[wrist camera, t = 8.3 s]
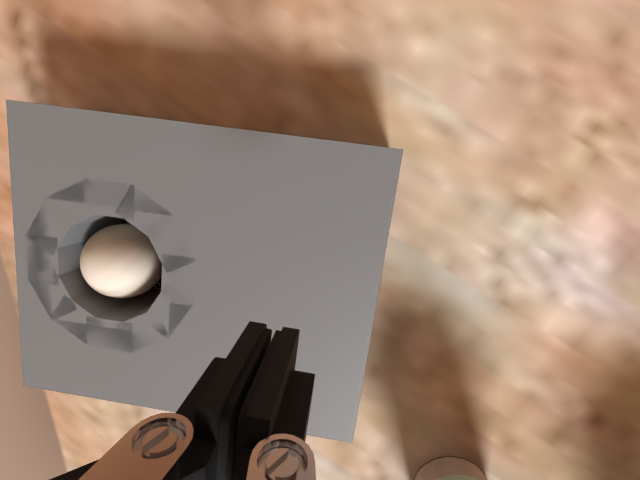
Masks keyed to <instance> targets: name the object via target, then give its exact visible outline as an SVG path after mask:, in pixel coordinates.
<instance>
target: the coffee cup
mask: <svg viewBox="0 0 640 480" xmlns="http://www.w3.org/2000/svg"><path fill="white" fill-rule="evenodd" d="M414 480H487V479H486V477H485V476H484V474H483V472H482V471H481V470H480V469H479V468H478V467H477V466H476V465H474V464H473V463H471V462H469V461H467V460H465V459H461V458H457V457H443V458H438V459H435V460H433V461H430V462H429V463H427V464H426V465H424V466H423V467H422V468H421V469H420V470H419V472H418V473H417V475H416V477H415V479H414Z"/></svg>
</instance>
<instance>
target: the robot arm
mask: <svg viewBox="0 0 640 480" xmlns="http://www.w3.org/2000/svg"><path fill="white" fill-rule="evenodd" d="M299 333H300V329H295V328H289V327H283V328H282V331H279V330H276V331H275V334H274V336H273V338H272V340H271V336H272V329H267V325H266V324H264V323H258V322H252V321H250V322H249V323H248V324H247V326H246V328H245V329H244V331H243V332H242V334H241V335H240V337H239V339H238V340H237V342H236V343H235V345H234V346H233V348H232V350H231V351H230V353H229V354H228V356H227V357H226V358H220V357H215V358H214V359H213V360H212V361H211V363H210V364H209V366H208V367H207V369H206V370H205V371H204V373H203V374H202V376H201V377H200V379H199V380H198V381H197V383H196V384H195V386H194V387H193V389H192V390H191V392H190V393H189V394H188V396H187V397H186V399H185V400H184V402H183V403H182V404H181V406H180V407H179V409H178V410H177V412H176V413H161V414H157V415H153V416H150V417H148V418H146V419H144V420H142V421H140V422H139V423H138V424H137V425H135V426H134V427H133V428H132V429H131V430H129V431H128V432H127V433H126V434H125V435H124V436H123V437H122V438H121V439H120V440H119V441H118V442H117V443H116V444H115V445H114V446H113V447H112V448H111V449H110V450H109V451H108V452H107V453H106V454H105V455H103V456H102V457H101V458H100V459H99V460H97V461H94V462H92V463H89V464H87V465H84V466H82V467H79V468H77V469H75V470H72V471H70V472H67V473H65V474H63V475H60V476H57V477H55V478H52V479H50V480H316V473H315V460H314V455H313V452H312V450H311V449H310V447H309V445H308V444H306V443H305V438H306V432H307V426H308V420H309V414H310V408H311V401H312V394H313V387H314V380H315V374H313V373H308V372H302V371H296V370H295V365H296V357H297V349H298V341H299Z"/></svg>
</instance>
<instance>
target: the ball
mask: <svg viewBox="0 0 640 480" xmlns="http://www.w3.org/2000/svg"><path fill="white" fill-rule="evenodd" d="M80 269H81V272H82V275H83V277H84V279H85V280H86V282H87V283H88V284H89V285H90V286H91V287H92V288H93V289H94V290H95V291H97V292H99V293H101V294H103V295H106V296H109V297H114V298H130V297H135V296H138V295H140V294H143V293H145V292H146V291H148V290H149V289H151V288H152V287H153V286H154V285H155V284H156V283H157V282H158V281H159V280H160V278H161V276H162V263H161V261H160V259H159V257H158V255H157V253H156V251H155V249H154V247H153V245H152V243H151V241H150V239H149V237H148V236H147V235H145V234H144V233H143V232H141V231H140V230H139V229H137V228H136V227H135V226H133V225H132V224H116V225H111V226H108V227H105V228H103V229H101V230H99V231H98V232H96V233H95V234H94V235H92V236H91V237H90V238H89V239H88V241H87V242H86V243H85V245H84V247H83V249H82V252H81V255H80Z"/></svg>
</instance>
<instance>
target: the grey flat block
mask: <svg viewBox="0 0 640 480" xmlns="http://www.w3.org/2000/svg"><path fill="white" fill-rule="evenodd" d="M6 108H7V124H8V141H9V157H10V174H11V191H12V207H13V224H14V240H15V257H16V274H17V290H18V307H19V323H20V340H21V356H22V373H23V386H27V387H33V388H39V389H44V390H50V391H56V392H61V393H67V394H73V395H79V396H84V397H90V398H96V399H102V400H107V401H113V402H119V403H125V404H130V405H136V406H142V407H148V408H153V409H159V410H165V411H171V412H177V410H178V409H179V407H180V406H181V404H182V403H183V402H184V400H185V399H186V397H187V396H188V394H189V393H190V392H191V390H192V389H193V387H194V386H195V384H196V383H197V381H198V380H199V379H200V377H201V376H202V374H203V373H204V371H205V370H206V369H207V367H208V366H209V364H210V363H211V361H212V360H213V359H214V358H215V357H220V358H226V357H227V356H228V354H229V353H230V351H231V350H232V348H233V346H234V345H235V343H236V342H237V340H238V339H239V337H240V335H241V334H242V332H243V331H244V329H245V328H246V326H247V324H248V323H249V322H250V321H252V322H258V323H264V324H266V325H267V329H272V336H271V340H272V338H273V336H274V334H275V331H276V330H279V331H282V328H283V327H289V328H295V329H300V333H299V341H298V349H297V357H296V365H295V370H296V371H302V372H308V373H313V374H315V380H314V387H313V394H312V401H311V408H310V414H309V420H308V426H307V432H306V435H309V436H314V437H320V438H326V439H332V440H337V441H343V442H349V443H353V437H354V431H355V425H356V420H357V414H358V408H359V402H360V397H361V391H362V385H363V379H364V373H365V368H366V362H367V356H368V350H369V345H370V339H371V333H372V327H373V321H374V316H375V310H376V304H377V298H378V292H379V287H380V281H381V275H382V269H383V264H384V258H385V252H386V246H387V240H388V235H389V229H390V223H391V217H392V211H393V206H394V200H395V194H396V188H397V183H398V177H399V171H400V165H401V159H402V154H403V149H396V148H388V147H380V146H372V145H364V144H356V143H348V142H340V141H332V140H324V139H316V138H308V137H300V136H292V135H284V134H276V133H268V132H260V131H252V130H244V129H236V128H228V127H220V126H212V125H204V124H196V123H189V122H181V121H173V120H165V119H157V118H149V117H141V116H133V115H125V114H117V113H109V112H101V111H93V110H85V109H77V108H69V107H61V106H53V105H45V104H37V103H29V102H21V101H13V100H6ZM123 219H125V220H126V221H128V222H129V223H130V224H132V225H133V226H135V227H136V228H137V229H139V230H140V231H141V232H143V233H144V234H145V235H147V236H148V237H149V239H150V241H151V243H152V245H153V247H154V249H155V251H156V253H157V255H158V257H159V259H160V261H161V263H162V280H161V292H160V293H159V292H152V291H146V292H145V293H143V294H140V295H138V296H135V297H130V298H114V297H109V296H106V295H103V294H101V293H99V292H97V291H95V290H94V289H93V288H92V287H91V286H90V285H89V284H88V283H87V282H86V280H85V279H84V277H83V275H82V272H81V269H80V255H81V252H82V249H83V247H84V245H85V243H86V242H87V241H88V239H89V238H90V237H91V236H92V235H94V234H95V233H96V232H98V231H99V230H101V229H103V228H105V227H108V226H111V225H116V224H121V223H122V221H123Z"/></svg>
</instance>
